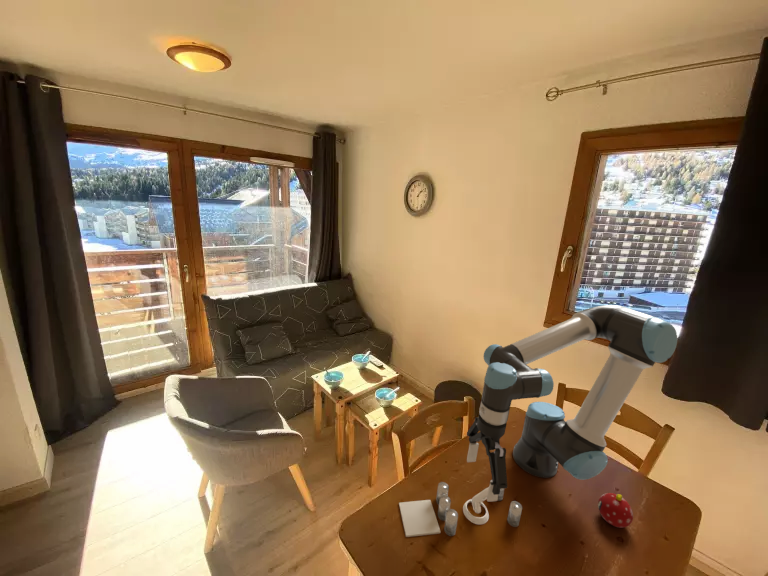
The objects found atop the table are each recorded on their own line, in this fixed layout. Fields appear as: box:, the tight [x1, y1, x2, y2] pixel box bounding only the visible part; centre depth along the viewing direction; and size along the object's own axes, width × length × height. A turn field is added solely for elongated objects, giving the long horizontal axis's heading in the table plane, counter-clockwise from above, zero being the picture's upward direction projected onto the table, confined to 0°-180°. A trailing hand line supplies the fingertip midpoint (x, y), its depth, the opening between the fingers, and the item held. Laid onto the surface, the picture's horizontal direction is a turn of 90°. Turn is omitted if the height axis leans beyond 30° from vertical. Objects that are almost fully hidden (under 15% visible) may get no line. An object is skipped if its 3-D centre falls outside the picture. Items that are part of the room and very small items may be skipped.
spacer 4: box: [497, 488, 506, 502], centre depth 102 cm, size 3×3×6 cm
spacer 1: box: [435, 481, 449, 506], centre depth 99 cm, size 3×3×6 cm
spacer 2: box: [437, 495, 452, 522], centre depth 94 cm, size 3×3×6 cm
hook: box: [462, 486, 490, 526], centre depth 95 cm, size 8×12×7 cm
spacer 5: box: [506, 500, 523, 528], centre depth 94 cm, size 3×3×6 cm
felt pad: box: [398, 499, 441, 538], centre depth 94 cm, size 10×10×1 cm
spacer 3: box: [444, 508, 459, 537], centre depth 90 cm, size 3×3×6 cm
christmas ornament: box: [597, 492, 634, 529], centre depth 95 cm, size 9×9×10 cm
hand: (480, 479), depth 93 cm, fingers open, 13 cm apart
